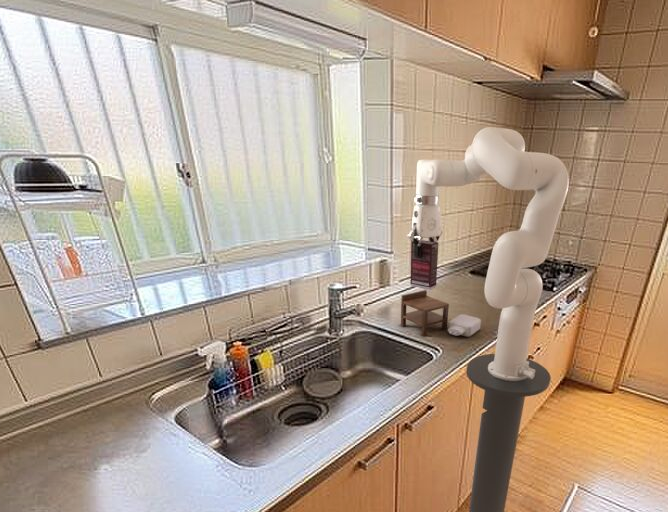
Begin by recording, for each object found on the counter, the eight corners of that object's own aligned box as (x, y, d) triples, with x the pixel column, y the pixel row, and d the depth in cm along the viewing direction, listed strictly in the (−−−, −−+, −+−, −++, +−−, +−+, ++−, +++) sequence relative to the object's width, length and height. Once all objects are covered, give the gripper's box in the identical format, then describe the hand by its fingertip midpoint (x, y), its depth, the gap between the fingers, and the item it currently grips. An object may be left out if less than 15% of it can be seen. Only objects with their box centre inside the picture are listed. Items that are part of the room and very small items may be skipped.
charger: (439, 336, 152) (458, 324, 164) (462, 343, 148) (479, 330, 160) (440, 324, 150) (459, 313, 161) (463, 330, 146) (481, 318, 158)
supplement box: (436, 287, 151) (439, 242, 144) (430, 290, 147) (432, 244, 140) (416, 282, 155) (418, 238, 148) (409, 285, 151) (410, 240, 144)
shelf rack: (446, 329, 159) (449, 298, 154) (423, 336, 151) (425, 304, 146) (423, 319, 167) (425, 290, 162) (400, 325, 159) (401, 295, 154)
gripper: (415, 203, 130) (413, 261, 138) (453, 201, 141) (449, 255, 149) (399, 200, 135) (398, 257, 143) (437, 199, 146) (434, 252, 154)
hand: (424, 255), depth 146 cm, fingers closed on supplement box, 5 cm apart
